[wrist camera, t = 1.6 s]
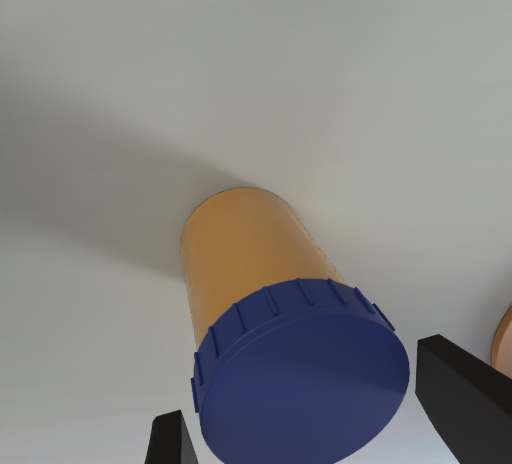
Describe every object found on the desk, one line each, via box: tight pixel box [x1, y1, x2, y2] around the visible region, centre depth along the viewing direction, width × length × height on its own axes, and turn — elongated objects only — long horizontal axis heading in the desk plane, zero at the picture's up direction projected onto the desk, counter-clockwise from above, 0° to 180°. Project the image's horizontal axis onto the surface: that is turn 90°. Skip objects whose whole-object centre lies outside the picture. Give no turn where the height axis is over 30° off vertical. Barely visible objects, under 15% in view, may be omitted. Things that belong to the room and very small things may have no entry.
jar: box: [180, 188, 348, 352], centre depth 15 cm, size 5×5×8 cm
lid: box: [191, 277, 410, 464], centre depth 12 cm, size 6×6×2 cm
